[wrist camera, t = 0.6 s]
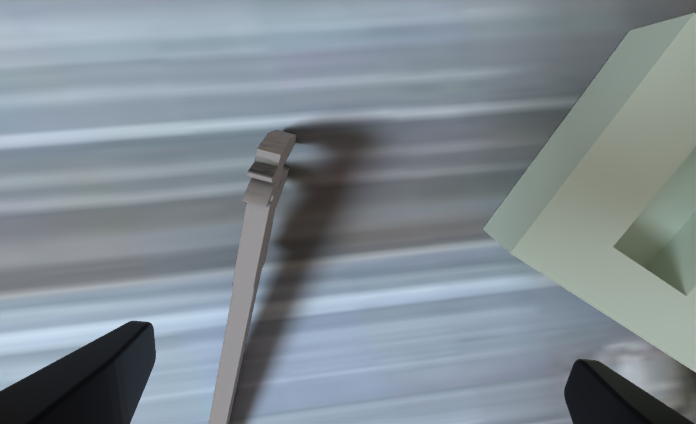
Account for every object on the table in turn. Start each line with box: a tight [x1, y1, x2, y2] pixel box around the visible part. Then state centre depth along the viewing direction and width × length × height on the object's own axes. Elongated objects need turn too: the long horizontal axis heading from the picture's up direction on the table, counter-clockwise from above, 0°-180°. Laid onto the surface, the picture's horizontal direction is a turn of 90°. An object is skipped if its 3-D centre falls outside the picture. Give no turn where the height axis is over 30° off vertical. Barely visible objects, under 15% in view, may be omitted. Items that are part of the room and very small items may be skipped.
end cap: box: [483, 13, 696, 372], centre depth 21 cm, size 12×12×4 cm
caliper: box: [209, 130, 296, 424], centre depth 22 cm, size 20×1×6 cm, turn 165°
